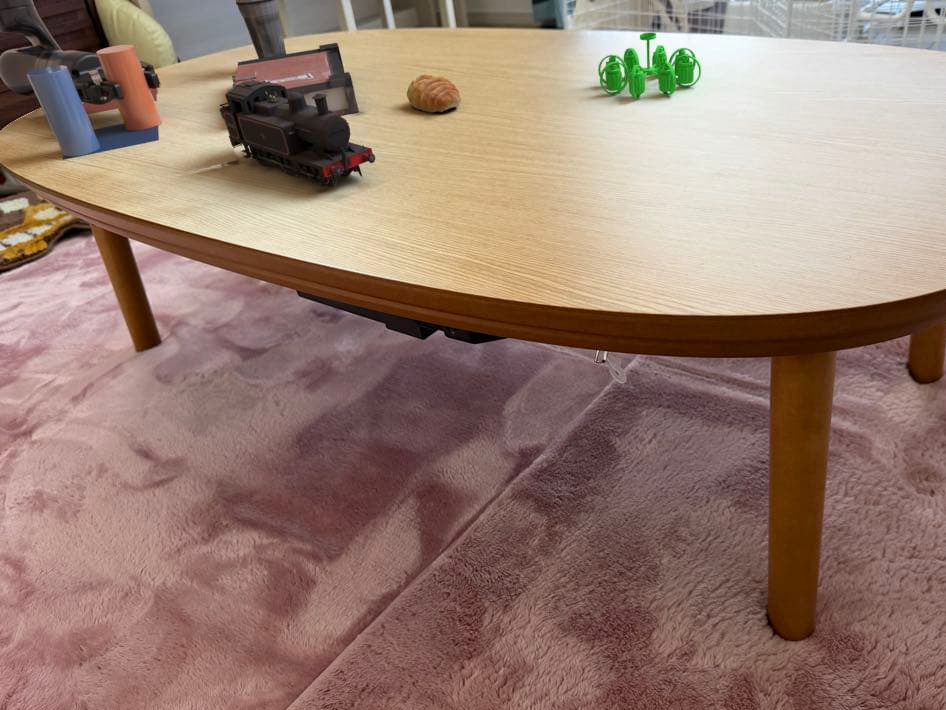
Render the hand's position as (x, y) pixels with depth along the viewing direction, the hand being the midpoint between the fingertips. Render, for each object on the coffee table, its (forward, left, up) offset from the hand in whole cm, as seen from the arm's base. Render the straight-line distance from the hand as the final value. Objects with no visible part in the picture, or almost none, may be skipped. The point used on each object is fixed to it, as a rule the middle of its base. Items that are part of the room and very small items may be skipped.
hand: (137, 86), depth 118 cm
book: (+22, +1, -7) cm, 23 cm away
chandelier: (+68, -31, -7) cm, 75 cm away
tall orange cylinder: (-1, +2, -6) cm, 7 cm away
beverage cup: (+22, +27, -7) cm, 35 cm away
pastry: (+40, -18, -7) cm, 44 cm away
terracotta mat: (-5, +23, -7) cm, 25 cm away
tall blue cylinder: (-10, -5, -6) cm, 13 cm away
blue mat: (-6, -1, -7) cm, 9 cm away
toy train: (+18, -33, -7) cm, 38 cm away
